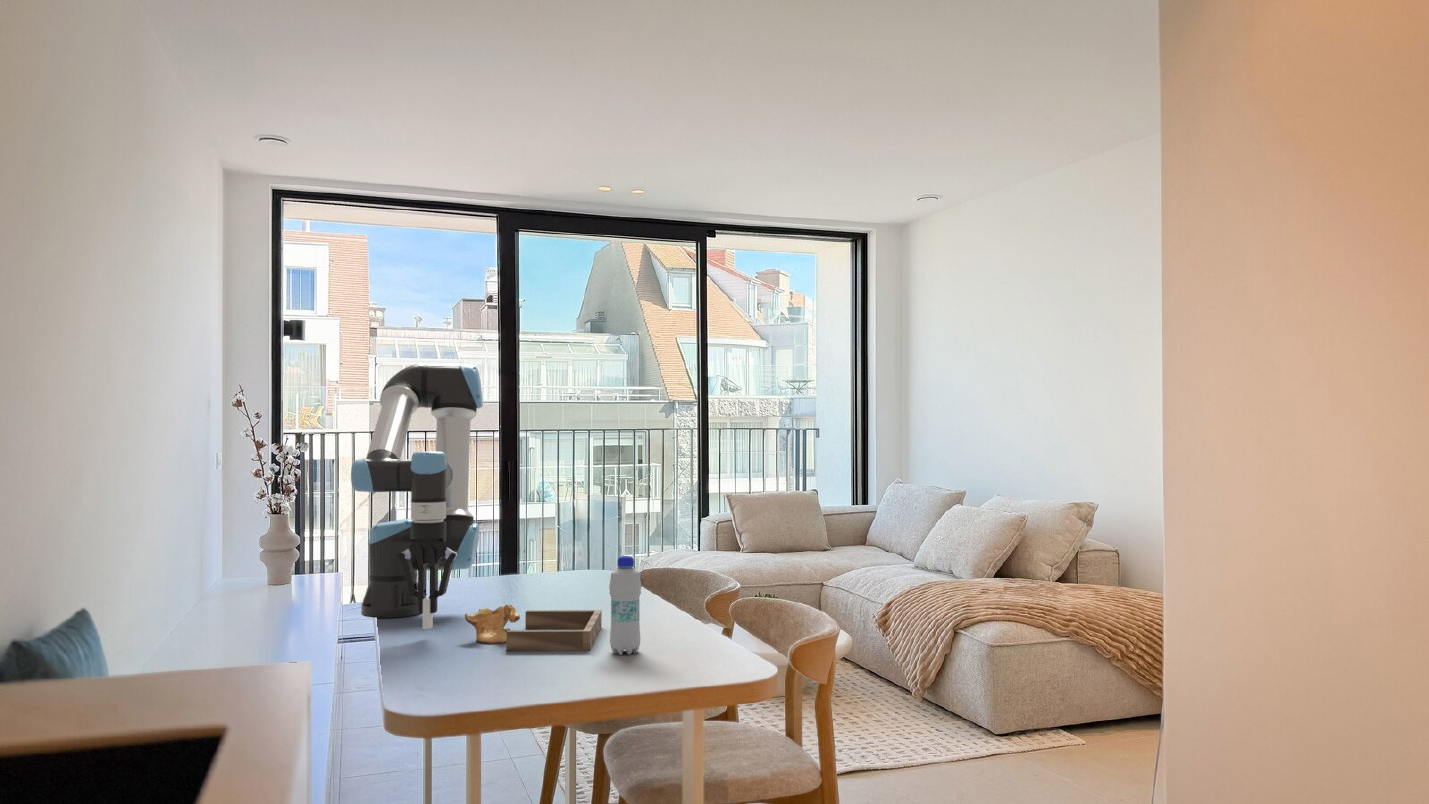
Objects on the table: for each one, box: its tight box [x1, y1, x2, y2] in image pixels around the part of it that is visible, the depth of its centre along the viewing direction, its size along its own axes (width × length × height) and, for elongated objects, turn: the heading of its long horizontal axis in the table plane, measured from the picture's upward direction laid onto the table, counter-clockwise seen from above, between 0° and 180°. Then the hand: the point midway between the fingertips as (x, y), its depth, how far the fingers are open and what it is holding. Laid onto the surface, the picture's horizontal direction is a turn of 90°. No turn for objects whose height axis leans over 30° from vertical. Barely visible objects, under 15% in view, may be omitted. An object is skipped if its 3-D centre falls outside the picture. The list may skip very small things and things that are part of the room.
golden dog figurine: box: [464, 604, 521, 645], centre depth 215 cm, size 12×10×8 cm
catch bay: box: [505, 609, 603, 652], centre depth 217 cm, size 24×18×4 cm
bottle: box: [608, 555, 642, 656], centre depth 204 cm, size 7×7×20 cm
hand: (427, 627), depth 216 cm, fingers closed
